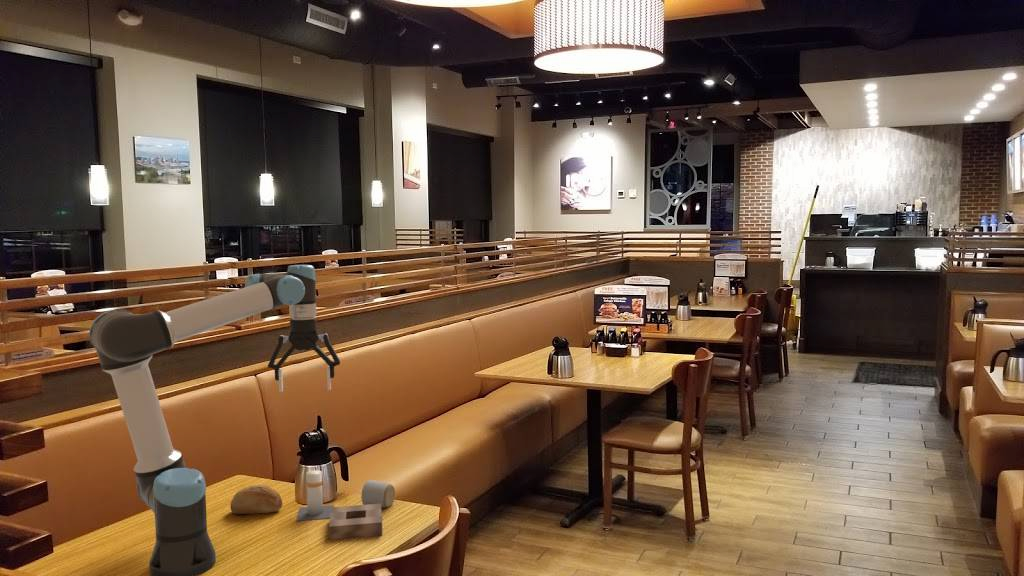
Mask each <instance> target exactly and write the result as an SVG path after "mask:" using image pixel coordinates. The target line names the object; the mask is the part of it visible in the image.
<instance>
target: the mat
mask: <svg viewBox="0 0 1024 576" xmlns="http://www.w3.org/2000/svg"><path fill="white" fill-rule="evenodd" d="M332 507H335V505H334V504H331V505H323V513H322V514H319V515H308V512H307V506H305V507H304V506H303V507H299V509H298V512H297V516H296V519H295V521H296V522H304V521H315V520H316V521H317V520H330V515H331V508H332Z"/></svg>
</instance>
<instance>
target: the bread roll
mask: <svg viewBox="0 0 1024 576" xmlns="http://www.w3.org/2000/svg"><path fill="white" fill-rule="evenodd" d="M282 507H283V500H282V497H281V494H280V493H279V492H278V491H276V490H275V488H272V487H270V486H268V485H264V484H263V485H262V484H261V485H260V484H253V485H249V486H246V487H243V488H242V489H240V490H238V491H237V492H236V493H235V494H234V495H233V498H232V499H231V501H230V511H231V513H233V514H235V515H245V514H247V515H249V514H262V513H264V514H265V513H273V512H277V511H279V510H280V509H282Z"/></svg>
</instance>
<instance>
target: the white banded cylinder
mask: <svg viewBox="0 0 1024 576" xmlns="http://www.w3.org/2000/svg"><path fill="white" fill-rule="evenodd" d="M305 475H306V477H305V478H306V482H305V483H306V484H305V485H306V505H307V506H306V507H307V512H308V515H319V514H322V513H323V506H324V502H323V501H324V500H323V497H324V496H323V472H322V471H321V470H318V469H317V470H314V469H313V470H309V471H307V472H306V473H305Z"/></svg>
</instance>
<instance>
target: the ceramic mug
mask: <svg viewBox="0 0 1024 576" xmlns="http://www.w3.org/2000/svg"><path fill="white" fill-rule="evenodd" d="M360 496H361V503H362V505H368V504H381V509H382V508H383V509H385V508H389V507H391V506H392V505H393V503H394V500H395V496H396V490H395V487H394V485H393V484H390V483H388V482H382V481H379V480H374V479H368V480H367V481H365V483H364V485H363V486H362V490H361V495H360Z"/></svg>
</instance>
